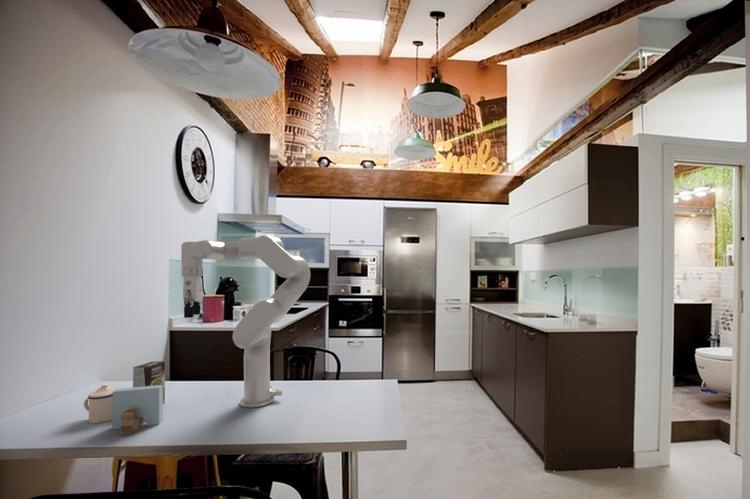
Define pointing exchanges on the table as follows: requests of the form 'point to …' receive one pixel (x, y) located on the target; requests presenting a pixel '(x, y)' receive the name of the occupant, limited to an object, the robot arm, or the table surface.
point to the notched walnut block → (131, 421)
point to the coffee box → (150, 375)
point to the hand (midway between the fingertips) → (192, 315)
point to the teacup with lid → (100, 404)
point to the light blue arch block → (138, 404)
